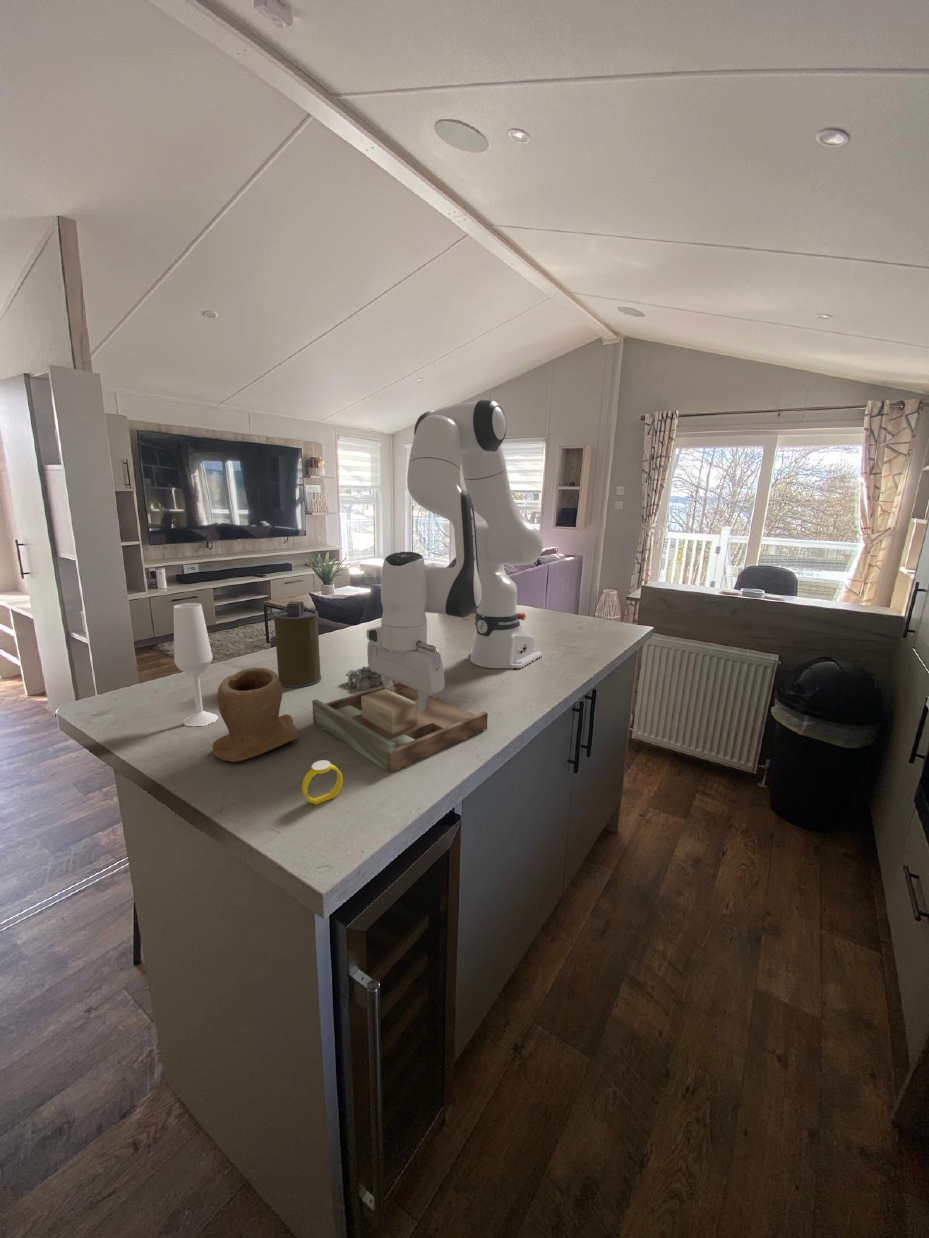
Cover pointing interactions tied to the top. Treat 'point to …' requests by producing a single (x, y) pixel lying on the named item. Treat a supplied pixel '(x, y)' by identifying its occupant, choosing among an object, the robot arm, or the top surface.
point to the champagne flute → (192, 654)
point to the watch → (321, 768)
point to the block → (389, 710)
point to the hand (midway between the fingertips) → (404, 702)
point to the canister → (297, 645)
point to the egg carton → (363, 678)
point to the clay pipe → (252, 715)
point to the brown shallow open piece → (400, 746)
